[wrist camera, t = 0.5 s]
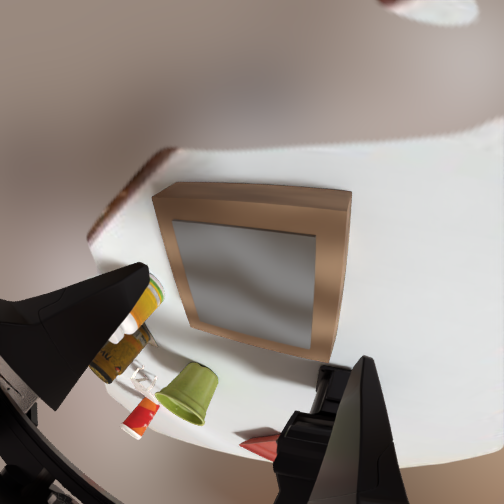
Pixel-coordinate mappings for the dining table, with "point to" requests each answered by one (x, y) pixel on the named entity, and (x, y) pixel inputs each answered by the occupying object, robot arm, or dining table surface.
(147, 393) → the miniature table
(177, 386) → the plant pot
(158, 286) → the supplement bottle
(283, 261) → the framed mirror
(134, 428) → the paper cup
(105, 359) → the condiment
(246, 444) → the plant saucer
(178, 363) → the dining table surface
